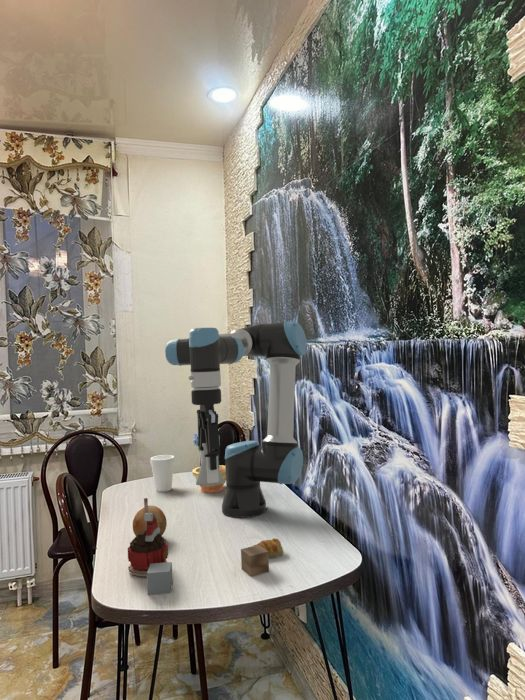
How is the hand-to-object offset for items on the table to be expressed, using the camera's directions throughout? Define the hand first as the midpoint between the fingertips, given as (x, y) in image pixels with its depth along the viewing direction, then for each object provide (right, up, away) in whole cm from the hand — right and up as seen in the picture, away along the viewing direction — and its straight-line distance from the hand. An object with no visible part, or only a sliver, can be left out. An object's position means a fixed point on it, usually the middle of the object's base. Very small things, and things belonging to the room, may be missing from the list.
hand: (209, 478), depth 121 cm
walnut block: (+12, -22, -4) cm, 25 cm away
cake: (-15, -23, -1) cm, 27 cm away
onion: (-19, -23, +18) cm, 35 cm away
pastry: (+15, -22, +5) cm, 27 cm away
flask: (0, -1, 0) cm, 1 cm away
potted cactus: (-7, -23, +70) cm, 74 cm away
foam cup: (-27, -24, +73) cm, 81 cm away
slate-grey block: (-10, -22, -12) cm, 27 cm away
